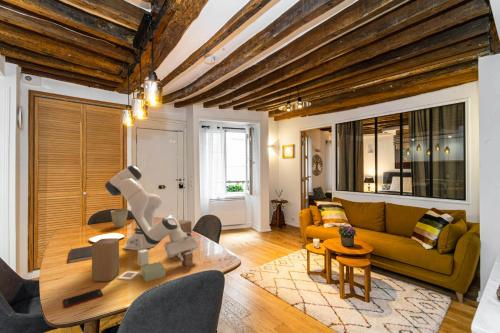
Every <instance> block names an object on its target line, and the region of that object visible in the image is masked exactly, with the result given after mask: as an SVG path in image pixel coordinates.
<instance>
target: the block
mask: <svg viewBox="0 0 500 333" xmlns="http://www.w3.org/2000/svg"><path fill="white" fill-rule="evenodd" d="M177 221H178V222H179V224H180V226H181V230H182V231H183V232H184V233H192V221H191V220H185V219H180V220H177Z"/></svg>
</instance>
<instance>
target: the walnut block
mask: <svg viewBox="0 0 500 333" xmlns="http://www.w3.org/2000/svg"><path fill="white" fill-rule="evenodd" d="M181 256H182V257H184V258H185V260H184V261H181V267H182V268H185V269H188V268H190V267H192V266H194V265H193V263H194V262H193V258H194V254H193V252H190V251H186V252H183V253H182V254H181Z"/></svg>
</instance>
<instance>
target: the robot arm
mask: <svg viewBox="0 0 500 333" xmlns="http://www.w3.org/2000/svg"><path fill="white" fill-rule="evenodd" d="M141 178H142V171H141V170H140V169H139V168H138V167H137V166H135V165H129V166H126V168H124V169H123V170H121V171H119V172H118V173H116V174H115V175H114V176H112V178H110V179H109V180H108V181H107V182H106V183H104V188H105V190H106V192H107V193H108V194H109V195H111V196H114V197H115V196H117V197H118V196H121V195H122V197H123V198H125V200H126V201H127V204H128V206H130V215H131V216H132V218H133V221H135V224H136V227H135V228H134V229H133V232H134V233H132V235H130V236H129V237H128V238H127V240H126V242H125V244H124V245H123V246H122V249H124V250H125V249H126V250H132V251H140V250H143V249H146V250H148V249H150V248H151V249H152V248H153V247H155V246H156V245H158V244H159V243H161V241H163V240H164V238H166V237H167V236H169V238H168V239H169V240H170V241H166V242H165V243H164V245H163V246H164V250H165V253H166V255H167V257H168V258H174V257H177V258H179V259H180V260H181V262H182V261H184V260H185V258H184V257H182V253H183V252H186V251H190V252H193V251H195V250H197V249H198V247H199V243H198V241H197V239H196V238H195V237H194V236H193V233H192V232H191V233H184V232H183V231H182V230H181V226H180V224H179V222H178V221H179V220H178V219H177V218H176V216H174V215H168V216H165V217H164V218H162V219H160V220H159V221H158V222H157V223H155V224H154V215H155V212H156V211H157V209H159V208H160V207H161V205H162V200H163V199H162V197H161V196H160V195H158V194H154V193H147V191H146V190H145V189H144V186H143V185H142V184H141V183H140V182H139V180H141Z"/></svg>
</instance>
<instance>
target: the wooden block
mask: <svg viewBox="0 0 500 333" xmlns="http://www.w3.org/2000/svg"><path fill="white" fill-rule="evenodd" d="M91 246H92V258H91V280H92V282H96V283H97V282H111V281H113V279H114V278H116V277H118V275H119V274H120V239H118V238H106V239H100V240H98V241H97V242H92V244H91Z"/></svg>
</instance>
